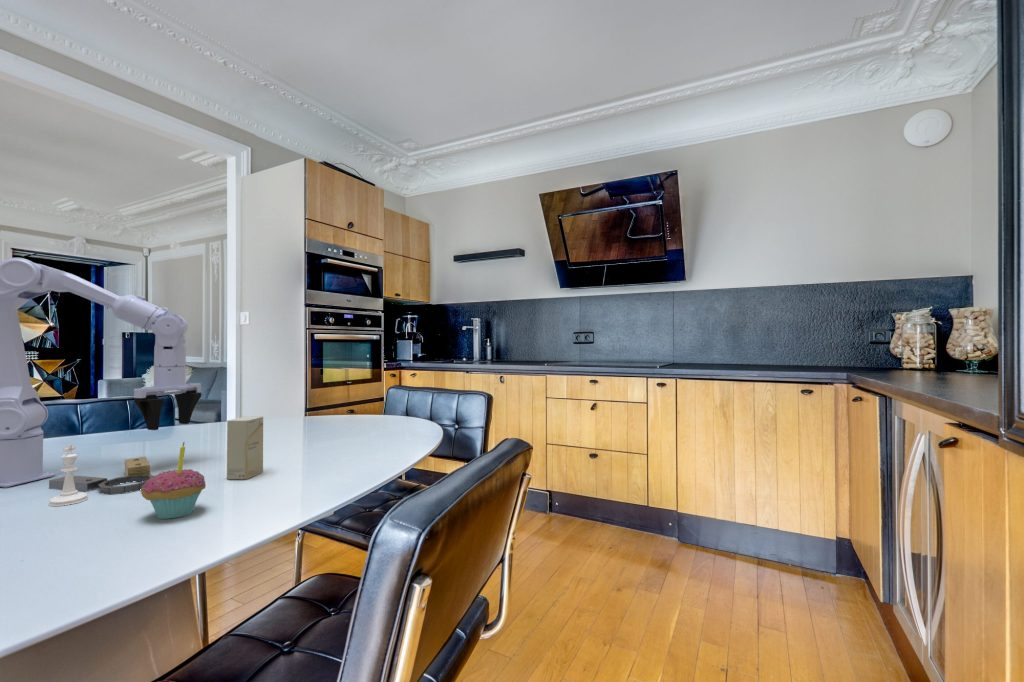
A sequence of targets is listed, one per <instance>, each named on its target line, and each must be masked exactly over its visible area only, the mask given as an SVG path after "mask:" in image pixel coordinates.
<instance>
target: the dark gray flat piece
mask: <svg viewBox="0 0 1024 682" xmlns="http://www.w3.org/2000/svg"><path fill="white" fill-rule="evenodd" d="M154 476H155V475H152V474H150V475H131V476H126V475H124V476H120V477H114V478H109V479H108V478H107V477H96V476H86V475H74V474H73V477H74V484H75V489H76V490H78V491H77V492H86V491H87V492H90V490H91V491H94V490H97V492H98V491H99V492H98V493H99V494H100V493H104V494H103V495H116V494H115V493H120V494H125V493H124V492H128V493H131V492H130V491H133V492H136V491H135V490H139V491H141V490H140V489H141V488H142V486H143V485H144V484H145V483H146V482H147V481H148V480H150V479H151V477H154ZM64 479H65V476H61V477H57V478H53V479H50V480H48V489H52V488H56V490H63V485H64ZM133 481H143V482H135V483H134V482H133ZM126 482H130V483H131V484H127V483H126ZM120 483H124V484H127V485H121V484H120ZM117 484H118V485H117ZM113 485H115V486H113ZM97 488H98V489H97ZM93 489H94V490H93Z"/></svg>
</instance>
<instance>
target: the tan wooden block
mask: <svg viewBox="0 0 1024 682" xmlns="http://www.w3.org/2000/svg"><path fill="white" fill-rule="evenodd" d="M124 473H125V476H131V475H151V464H150V462H149V461H148V459H147V457H146V456H141V457H134V458H133V457H132V458H125V459H124Z"/></svg>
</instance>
